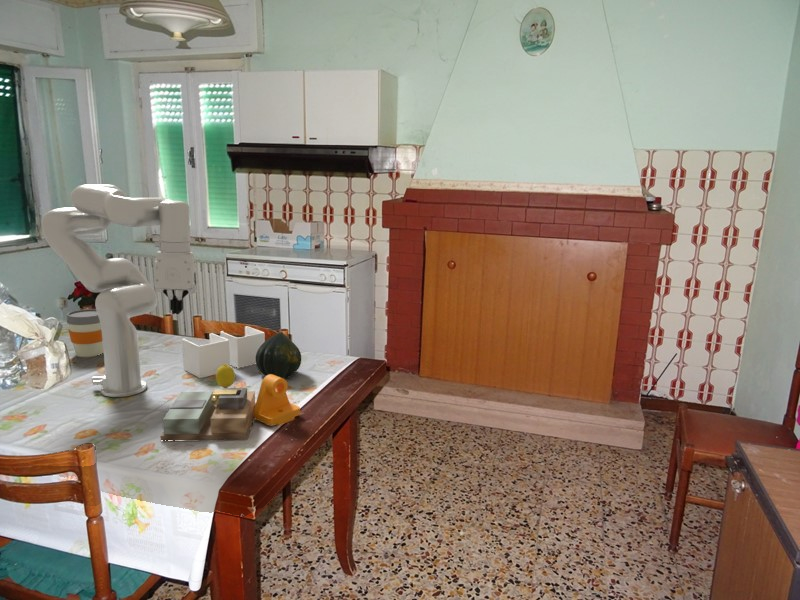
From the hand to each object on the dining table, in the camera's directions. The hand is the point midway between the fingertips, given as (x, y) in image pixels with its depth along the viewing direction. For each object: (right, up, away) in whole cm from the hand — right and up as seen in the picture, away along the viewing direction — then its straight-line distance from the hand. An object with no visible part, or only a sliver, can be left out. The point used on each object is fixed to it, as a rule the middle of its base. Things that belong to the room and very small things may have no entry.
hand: (176, 312), depth 156 cm
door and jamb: (+12, -30, -5) cm, 32 cm away
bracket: (+28, -29, 0) cm, 41 cm away
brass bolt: (+15, -24, -7) cm, 29 cm away
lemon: (+8, -24, +19) cm, 32 cm away
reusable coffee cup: (-50, -16, +47) cm, 71 cm away
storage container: (+1, -20, +40) cm, 45 cm away
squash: (+21, -22, +33) cm, 45 cm away
